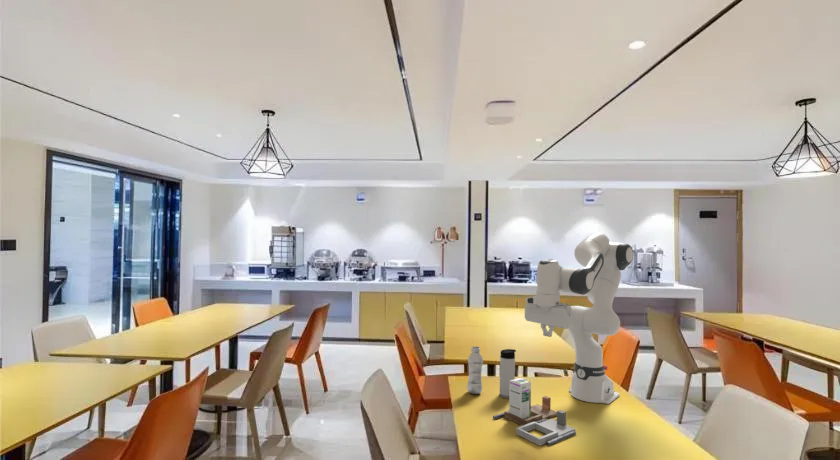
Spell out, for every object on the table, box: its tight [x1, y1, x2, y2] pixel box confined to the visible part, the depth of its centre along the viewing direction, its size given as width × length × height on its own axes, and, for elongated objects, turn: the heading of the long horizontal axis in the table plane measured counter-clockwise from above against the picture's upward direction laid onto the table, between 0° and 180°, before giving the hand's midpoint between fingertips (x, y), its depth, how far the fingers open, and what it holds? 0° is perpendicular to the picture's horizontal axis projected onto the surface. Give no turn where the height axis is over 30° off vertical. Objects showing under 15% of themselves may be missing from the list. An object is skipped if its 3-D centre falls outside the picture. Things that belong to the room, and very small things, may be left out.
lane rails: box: [492, 412, 577, 447], centre depth 149 cm, size 15×25×1 cm, turn 36°
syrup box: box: [508, 377, 532, 420], centre depth 155 cm, size 6×6×14 cm
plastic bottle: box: [466, 345, 484, 395], centre depth 181 cm, size 6×7×20 cm
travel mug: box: [499, 348, 517, 399], centre depth 179 cm, size 6×7×20 cm
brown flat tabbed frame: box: [503, 395, 557, 426], centre depth 158 cm, size 20×10×5 cm, turn 126°
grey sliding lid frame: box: [515, 409, 576, 447], centre depth 144 cm, size 20×10×5 cm, turn 126°
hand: (547, 336), depth 161 cm, fingers closed
